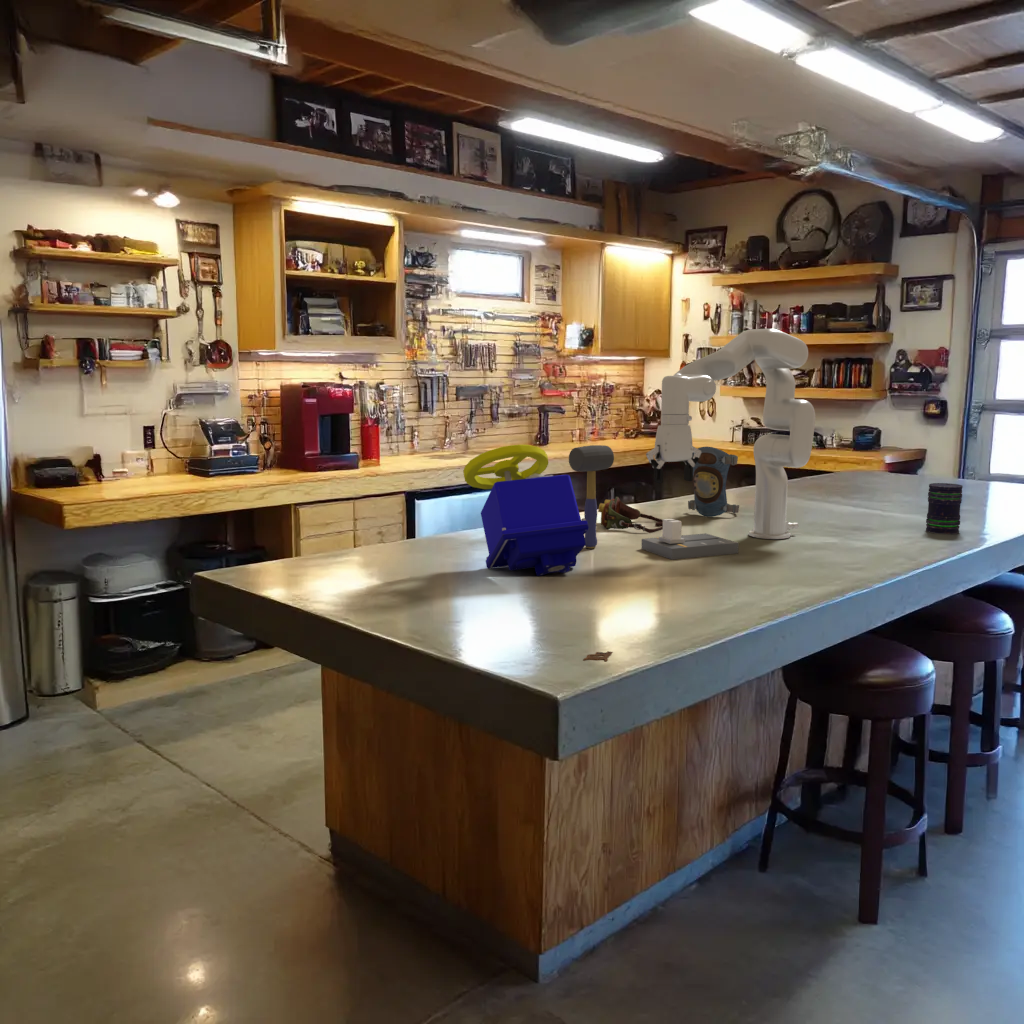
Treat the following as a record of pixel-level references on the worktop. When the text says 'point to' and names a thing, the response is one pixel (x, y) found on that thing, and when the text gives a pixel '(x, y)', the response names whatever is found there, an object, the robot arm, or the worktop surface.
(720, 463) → the knee pad
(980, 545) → the worktop surface
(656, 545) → the console
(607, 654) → the brown piece
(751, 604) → the worktop surface
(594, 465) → the rubber mallet
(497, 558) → the blue valve actuator
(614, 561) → the worktop surface
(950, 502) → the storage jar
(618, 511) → the goggles
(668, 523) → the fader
